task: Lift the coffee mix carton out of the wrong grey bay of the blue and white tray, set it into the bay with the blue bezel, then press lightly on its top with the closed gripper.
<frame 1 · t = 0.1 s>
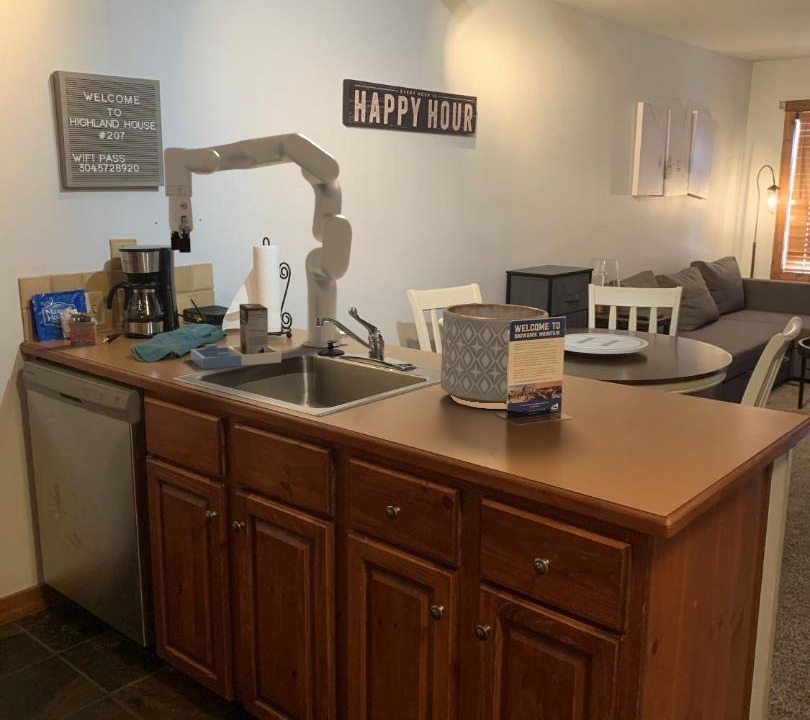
hand: (180, 251, 233), 31 cm above the countertop, fingers open, 9 cm apart
planter: (491, 400, 198), on the countertop
lighter: (83, 345, 251), on the countertop
coffee box: (254, 360, 237), resting in blue and white tray
blue and white tray: (235, 360, 234), on the countertop
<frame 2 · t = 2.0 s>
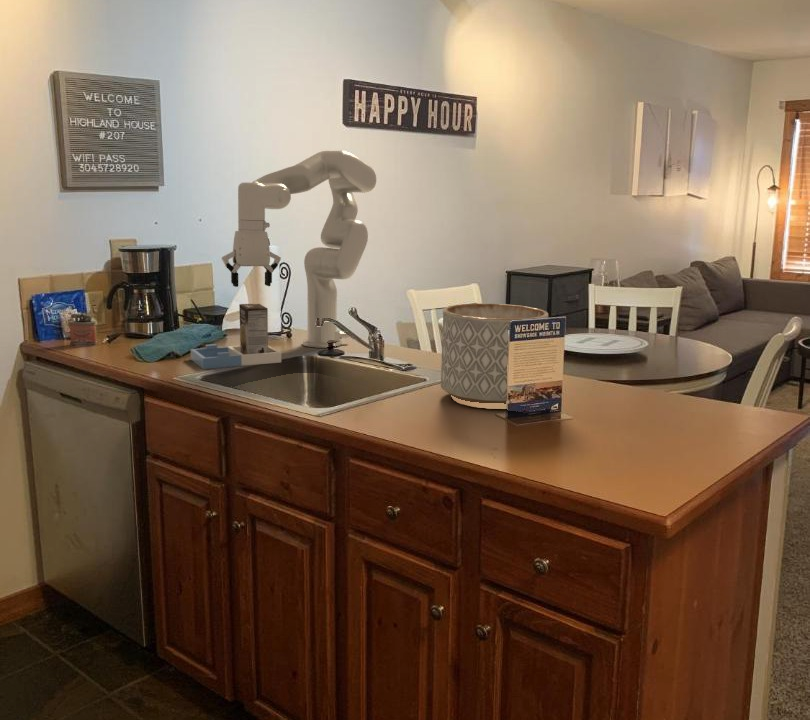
hand: (251, 286, 232), 22 cm above the countertop, fingers open, 9 cm apart
nothing on the countertop moved.
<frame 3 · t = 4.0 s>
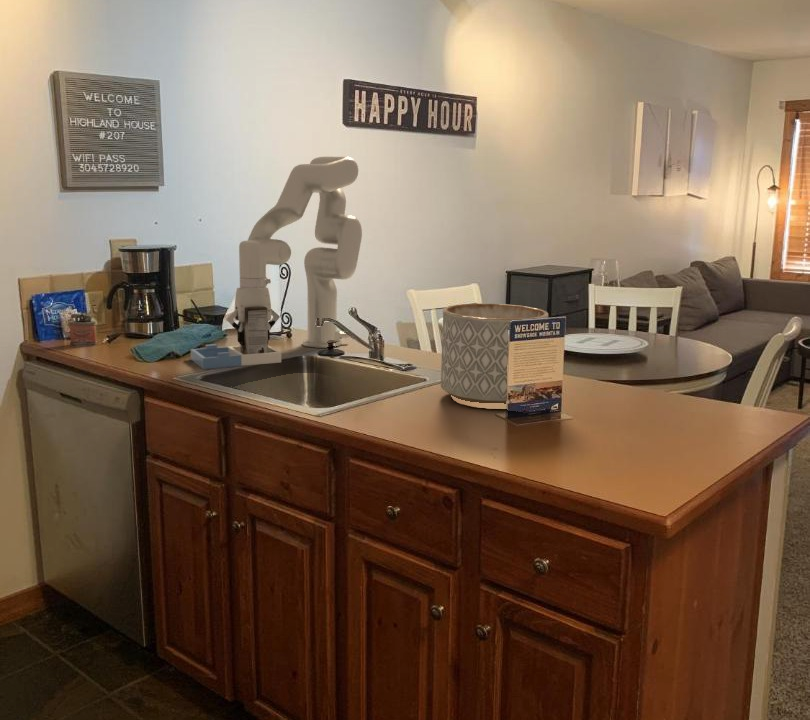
hand: (253, 343, 236), 5 cm above the countertop, fingers closed on coffee box, 6 cm apart
coffee box: (254, 360, 237), resting in blue and white tray, touching gripper
everything else where it was.
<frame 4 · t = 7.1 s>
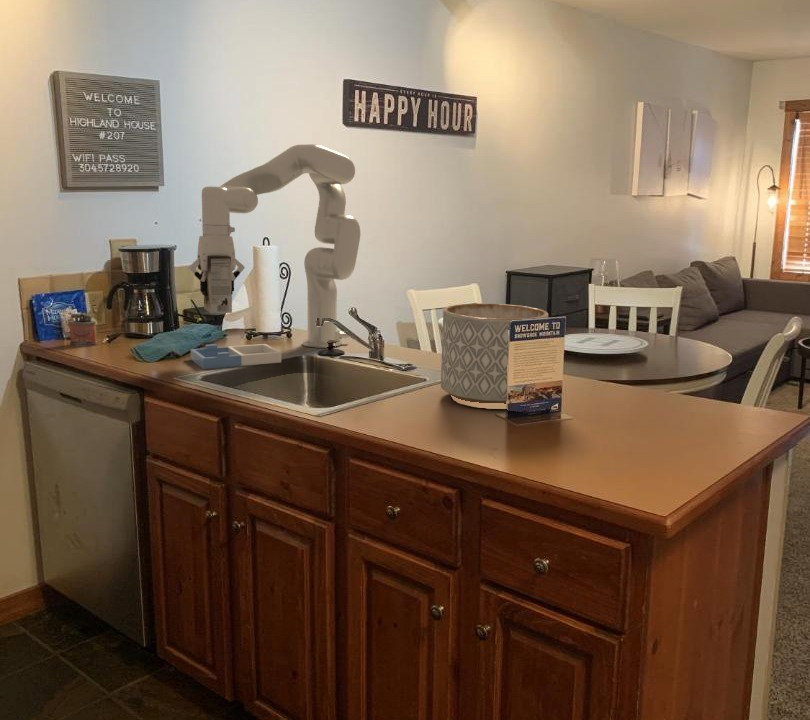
hand: (217, 294, 227), 20 cm above the countertop, fingers closed on coffee box, 6 cm apart
coffee box: (217, 311, 228), point 15 cm above the countertop, touching gripper
everything else where it was.
when the fingers open (6 cm above the countertop, at t = 10.2 s): coffee box drops 1 cm, resting in blue and white tray.
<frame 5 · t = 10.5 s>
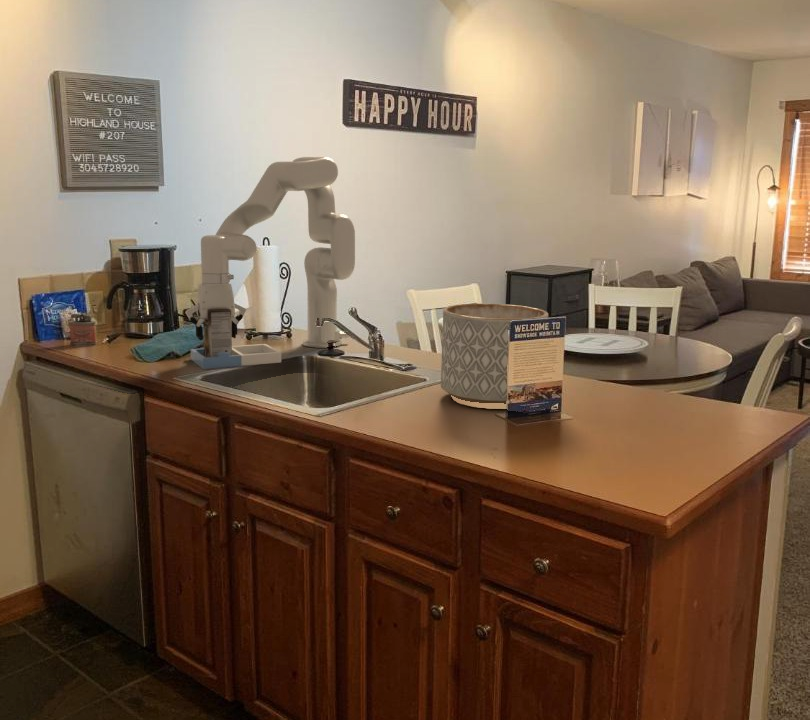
hand: (216, 338, 230), 7 cm above the countertop, fingers open, 9 cm apart
coffee box: (217, 363, 232), resting in blue and white tray
everything else where it was.
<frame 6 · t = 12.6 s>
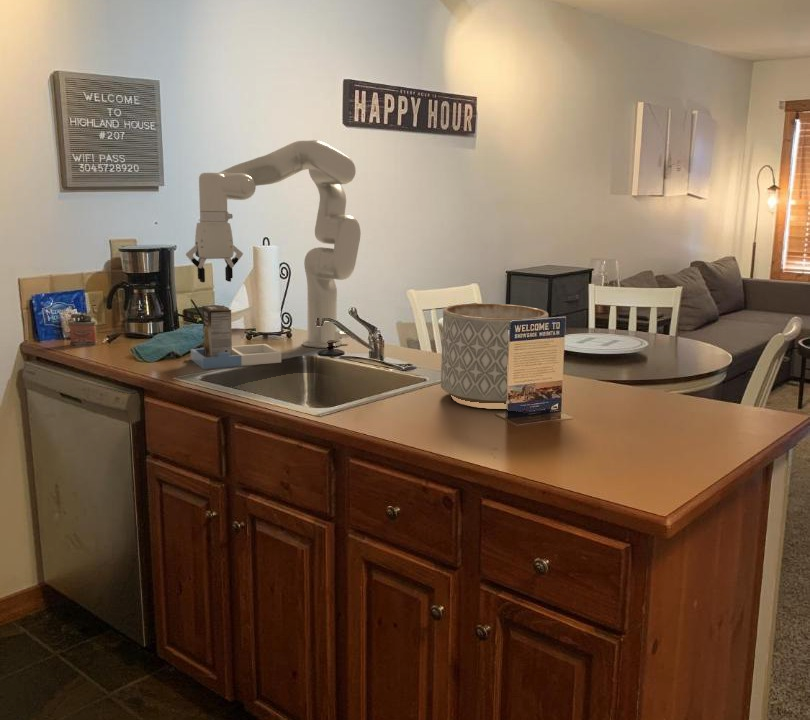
hand: (215, 280, 226), 24 cm above the countertop, fingers open, 6 cm apart
nothing on the countertop moved.
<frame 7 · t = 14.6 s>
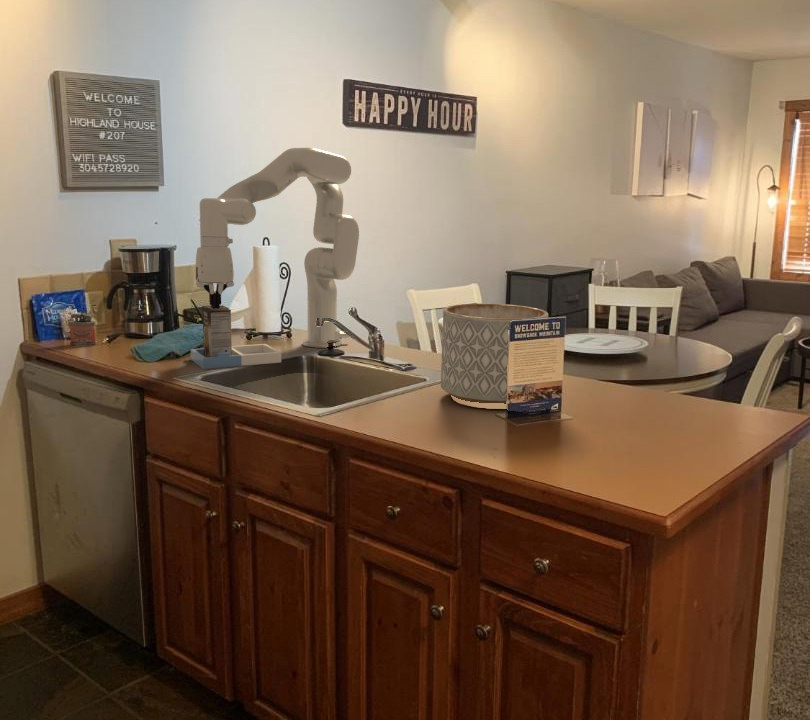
hand: (215, 307, 228), 16 cm above the countertop, fingers closed
coffee box: (217, 362, 232), resting in blue and white tray, touching gripper
everything else where it was.
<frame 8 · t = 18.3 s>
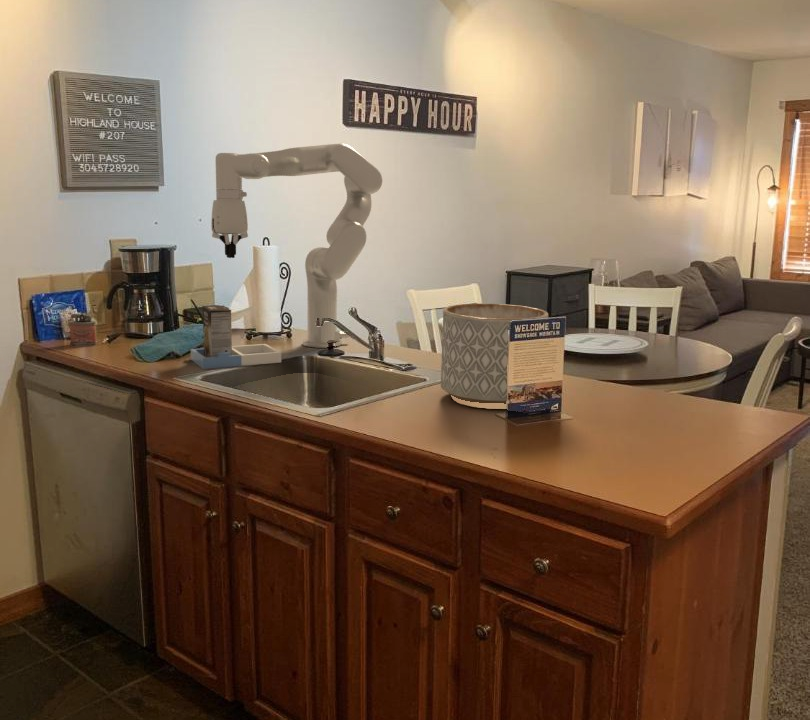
hand: (230, 257, 241), 29 cm above the countertop, fingers closed
coffee box: (217, 363, 232), resting in blue and white tray
everything else where it was.
at the end: coffee box 0.1 cm from the target spot on the blue and white tray, point 0.0 cm above the blue and white tray's base; coffee box tilted 0°; the gripper is holding nothing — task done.
